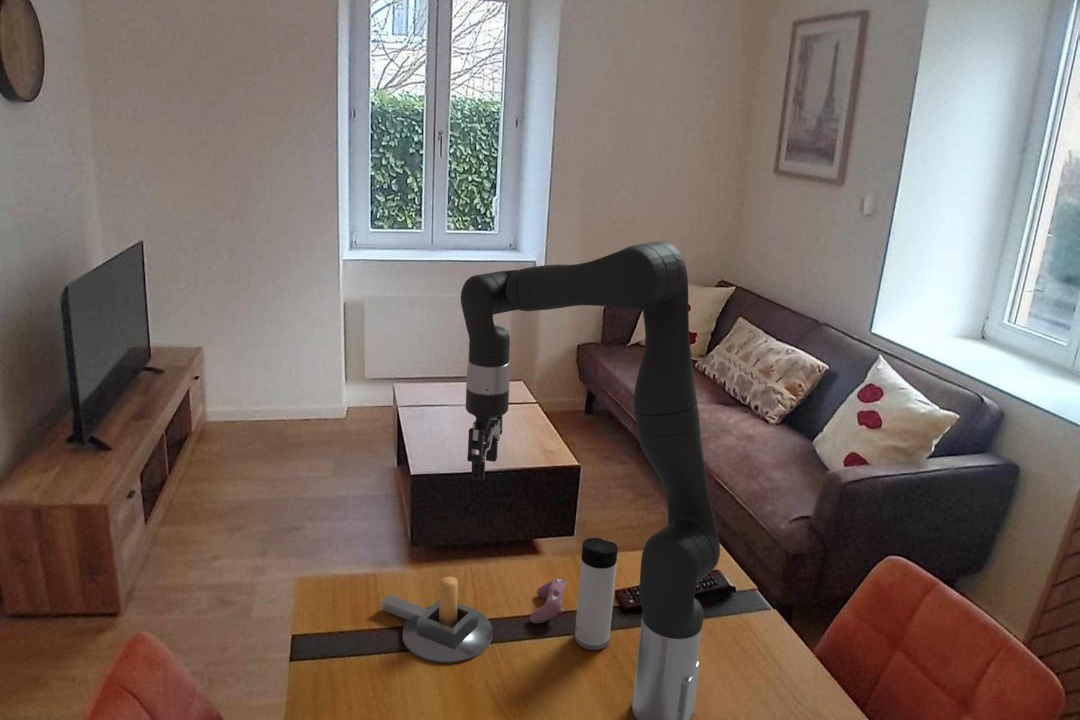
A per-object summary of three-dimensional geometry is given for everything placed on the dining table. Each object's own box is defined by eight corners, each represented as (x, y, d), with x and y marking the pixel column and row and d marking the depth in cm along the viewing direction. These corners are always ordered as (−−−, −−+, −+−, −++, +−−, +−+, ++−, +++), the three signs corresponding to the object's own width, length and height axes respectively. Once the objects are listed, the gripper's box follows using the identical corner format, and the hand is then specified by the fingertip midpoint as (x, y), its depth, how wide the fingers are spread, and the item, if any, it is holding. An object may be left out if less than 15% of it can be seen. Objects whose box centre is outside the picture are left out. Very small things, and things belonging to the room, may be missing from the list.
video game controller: (547, 634, 152) (566, 607, 150) (526, 621, 152) (545, 594, 150) (555, 603, 161) (573, 578, 159) (535, 591, 161) (553, 565, 159)
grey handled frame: (508, 625, 151) (509, 606, 150) (461, 675, 138) (462, 655, 136) (410, 588, 160) (410, 571, 159) (357, 632, 147) (357, 613, 146)
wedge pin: (460, 628, 148) (461, 580, 145) (450, 637, 146) (451, 588, 143) (445, 622, 150) (446, 574, 147) (435, 631, 147) (436, 583, 144)
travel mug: (567, 644, 147) (575, 545, 141) (583, 625, 153) (591, 529, 146) (599, 656, 144) (609, 556, 138) (614, 636, 150) (624, 539, 144)
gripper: (498, 401, 136) (494, 490, 141) (518, 375, 150) (514, 457, 155) (454, 396, 138) (452, 483, 143) (478, 370, 151) (475, 451, 156)
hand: (484, 469), depth 149 cm, fingers open, 8 cm apart
